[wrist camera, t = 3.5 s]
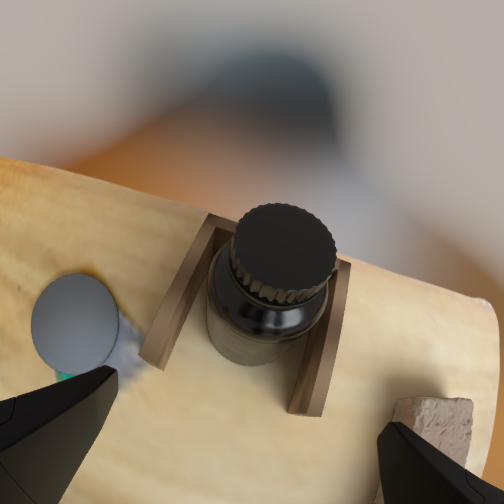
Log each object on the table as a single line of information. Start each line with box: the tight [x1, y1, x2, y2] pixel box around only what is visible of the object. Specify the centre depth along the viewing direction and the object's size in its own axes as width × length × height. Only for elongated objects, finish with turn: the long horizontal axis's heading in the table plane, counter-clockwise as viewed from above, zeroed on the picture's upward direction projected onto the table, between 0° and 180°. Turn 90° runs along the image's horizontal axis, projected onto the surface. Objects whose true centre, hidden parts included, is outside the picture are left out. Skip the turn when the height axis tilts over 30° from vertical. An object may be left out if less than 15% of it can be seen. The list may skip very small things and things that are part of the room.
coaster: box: [31, 274, 119, 375], centre depth 19 cm, size 9×9×1 cm
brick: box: [373, 396, 474, 504], centre depth 13 cm, size 16×8×5 cm, turn 166°
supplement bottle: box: [207, 203, 337, 366], centre depth 17 cm, size 7×7×12 cm
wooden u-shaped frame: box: [138, 213, 351, 417], centre depth 20 cm, size 12×12×4 cm
